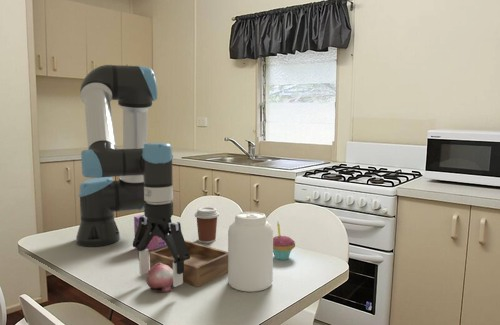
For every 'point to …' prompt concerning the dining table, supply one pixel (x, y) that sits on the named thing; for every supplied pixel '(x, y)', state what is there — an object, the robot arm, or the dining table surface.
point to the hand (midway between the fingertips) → (160, 278)
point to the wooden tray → (195, 263)
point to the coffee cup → (207, 224)
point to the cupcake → (282, 246)
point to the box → (155, 241)
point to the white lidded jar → (250, 252)
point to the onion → (160, 278)
